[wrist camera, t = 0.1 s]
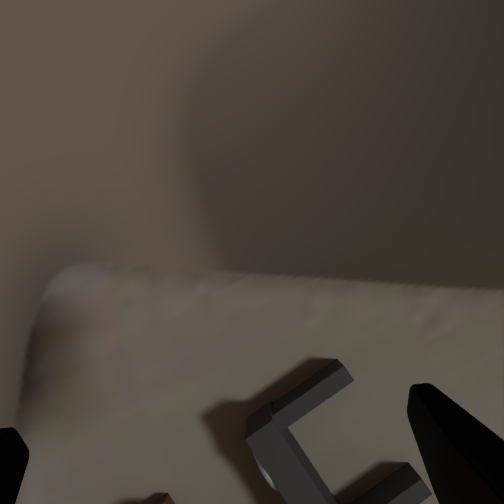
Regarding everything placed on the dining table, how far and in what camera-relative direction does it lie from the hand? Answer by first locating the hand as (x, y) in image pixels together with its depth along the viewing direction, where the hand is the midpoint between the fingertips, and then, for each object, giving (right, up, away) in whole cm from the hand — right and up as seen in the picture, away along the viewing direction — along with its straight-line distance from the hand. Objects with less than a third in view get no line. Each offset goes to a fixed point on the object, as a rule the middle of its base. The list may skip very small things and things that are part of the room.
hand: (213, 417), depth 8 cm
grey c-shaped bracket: (+6, -8, +14) cm, 17 cm away
